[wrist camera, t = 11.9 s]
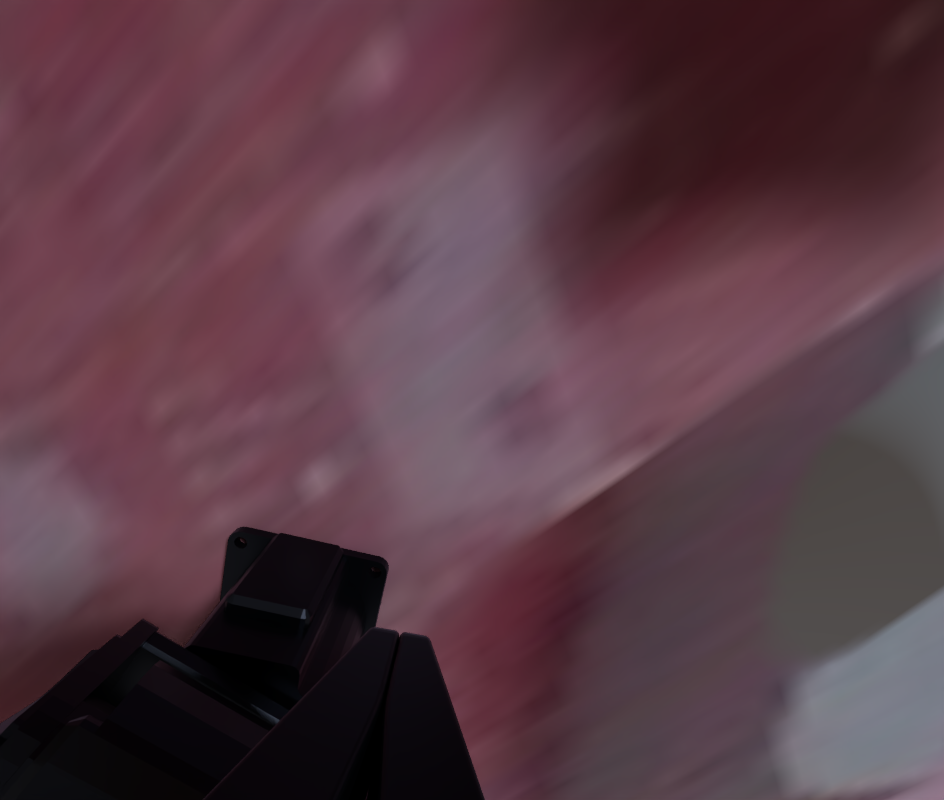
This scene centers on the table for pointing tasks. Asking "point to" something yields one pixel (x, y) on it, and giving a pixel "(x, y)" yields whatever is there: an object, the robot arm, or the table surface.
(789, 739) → the table surface
